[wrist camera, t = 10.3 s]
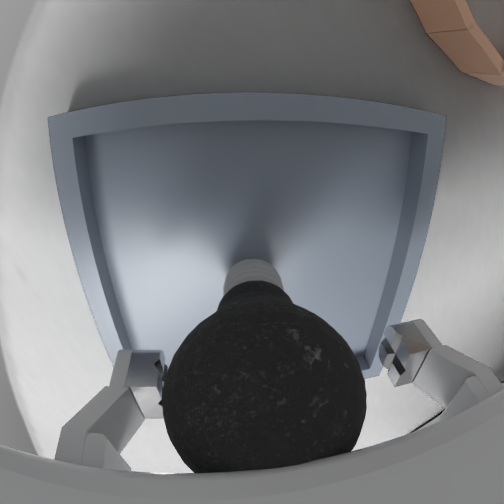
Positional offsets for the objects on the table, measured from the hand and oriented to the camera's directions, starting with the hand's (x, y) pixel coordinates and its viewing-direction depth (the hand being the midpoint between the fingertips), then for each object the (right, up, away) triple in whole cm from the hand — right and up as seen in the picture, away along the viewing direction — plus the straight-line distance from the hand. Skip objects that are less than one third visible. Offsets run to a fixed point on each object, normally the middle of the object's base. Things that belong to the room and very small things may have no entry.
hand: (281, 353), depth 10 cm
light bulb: (-1, +2, +4) cm, 5 cm away
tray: (-1, +3, +5) cm, 6 cm away
